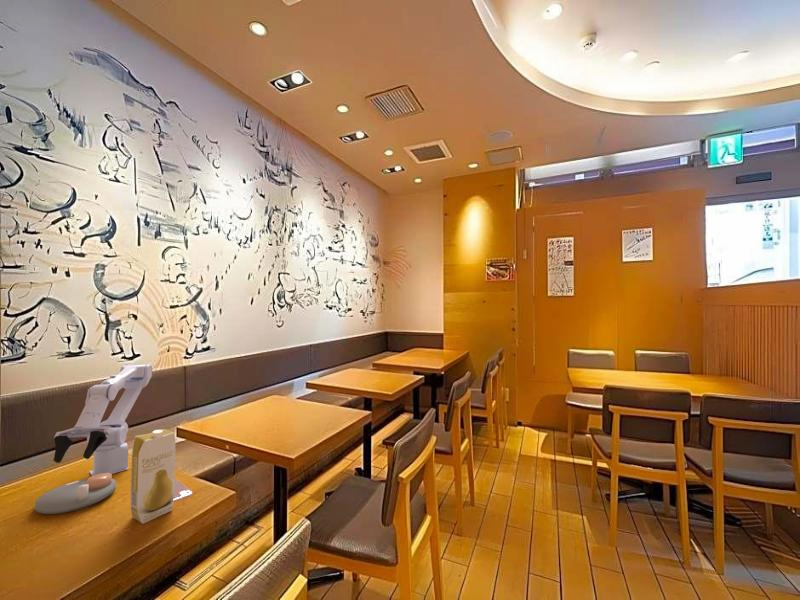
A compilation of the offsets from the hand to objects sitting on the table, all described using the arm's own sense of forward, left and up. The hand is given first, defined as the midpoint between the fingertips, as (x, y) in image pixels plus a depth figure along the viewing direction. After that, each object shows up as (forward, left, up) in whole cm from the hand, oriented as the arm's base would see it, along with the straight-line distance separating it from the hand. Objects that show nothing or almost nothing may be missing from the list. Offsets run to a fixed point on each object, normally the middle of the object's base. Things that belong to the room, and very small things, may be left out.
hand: (71, 459), depth 104 cm
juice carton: (-14, +26, -13) cm, 32 cm away
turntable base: (-2, 0, -13) cm, 13 cm away
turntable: (-2, 0, -12) cm, 12 cm away
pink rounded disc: (-7, 0, -10) cm, 12 cm away
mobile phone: (-22, +16, -13) cm, 30 cm away
